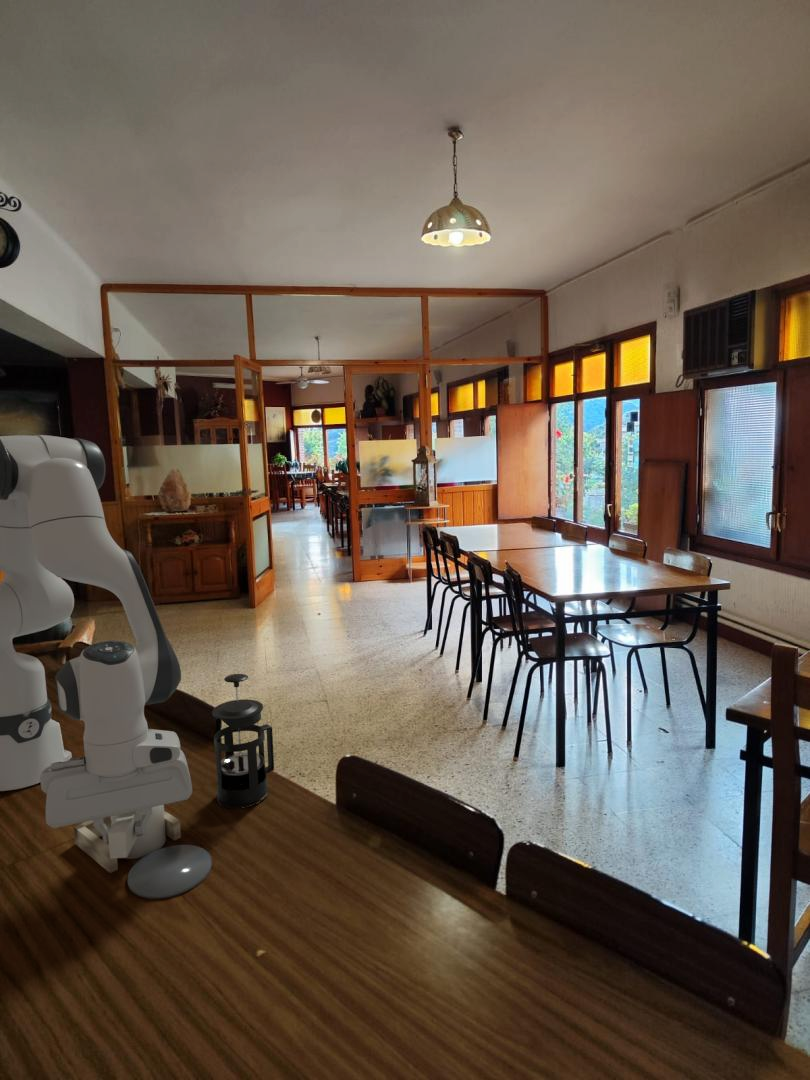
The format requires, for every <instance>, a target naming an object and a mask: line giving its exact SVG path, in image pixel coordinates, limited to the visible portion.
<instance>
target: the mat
mask: <svg viewBox="0 0 810 1080" xmlns="http://www.w3.org/2000/svg"><path fill="white" fill-rule="evenodd" d="M212 863H213V862H212V856H211V855H210V853H209V852H208V851H207V850H206V849H204V848H202V847H200V846H198V845H193V844H178V845H177V844H176V845H169V846H165V847H161V848H160V849H159V850H156V851H154V852H152V853H150V854H148V855H146V856H144V857H140V859H139V860H138V861H136V862H135V863H134V864H133V865H132V867H131V868H130V870H129V871H128V875H127V886H128V889H129V890H130V892H132V893H133V894H134V895H136V896H137V897H141V898H145V899H152V900H153V899H154V900H155V899H166V898H167V899H168V898H171V897H175V896H178V895H181V894H184V893H186V892H188V891H190V890H193V889H194V888H195V887H197V886H198V885H199V884H201V883H202V882H203V881H204V880H206V878H207V877H208V876H209V874H210V872H211V869H212V866H213V865H212Z"/></svg>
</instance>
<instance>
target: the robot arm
mask: <svg viewBox="0 0 810 1080" xmlns="http://www.w3.org/2000/svg"><path fill="white" fill-rule="evenodd" d="M106 466H107V465H106V461H105V457H104V453H103V452H102V450H101V449H100V447H99V446H98V445H97V444H96V443H94V441H93V442H92V441H91V440H86V439H83V438H78V437H73V438H67V437H61V436H57V435H56V436H54V435H46V434H34V435H31V434H30V435H27V434H26V435H24V434H22V435H21V434H20V435H17V434H16V435H15V434H14V435H0V571H1V572H4V573H3V575H4V576H3V579H2V581H0V792H5V791H14V790H19V789H24V788H27V787H31V786H35V785H38V784H39V783H40V789H41V790H42V792H44V793H45V794H46V799H45V824H46V825H48V826H49V827H50V828H52V829H58V828H62V827H68V826H70V825H76V824H77V825H78V824H82V823H84V822H86V821H91V820H93V826H94V827H95V828H96V829H97V830H98V831H99V832H100V833H101V834H103V836H102V840H103V844H108V845H109V840H108V832H109V831H110V829H111V827H107V826H106V825H105V824H104V817H109V816H114V815H118V814H123V813H128V812H132V811H137V810H141V809H142V817H141V819H140V820H139V821H135V833H136V837H138V836H142V835H146V827H145V825H146V824H147V822H148V820H149V818H150V816H151V814H152V807H155V806H160V805H164V806H165V805H168V804H172V803H177V802H182V801H183V802H184V801H187V800H188V799H189V798H190V797H191V796H192V794H193V784H192V779H191V774H190V770H189V765H188V761H187V759H186V758H187V757H186V755H185V753H184V752H183V750H182V749H181V742H180V739H179V736H178V734H177V733H176V732H175V731H171V730H162V729H153V728H149V727H148V722H147V719H146V717H145V706H146V705H152V704H158V703H159V704H160V703H165V702H166V701H168V700H169V699H170V697H172V696H173V694H174V693H175V692H176V690H177V688H178V687H179V685H180V683H181V680H182V671H181V665H180V663H179V660H178V657H177V655H176V653H175V651H174V648H173V647H172V644H171V643H170V640H169V638H168V637H167V634H166V632H165V630H164V626H163V624H162V622H161V619H160V617H159V613H158V612H157V609H156V606H155V603H154V600H153V598H152V596H151V593H150V591H149V587H148V585H147V583H146V580H145V578H144V575H143V573H142V570H141V568H140V566H139V564H138V562H137V561H136V559H135V557H134V556H133V554H132V552H130V551H128V550H126V549H123V548H121V547H120V545H118V544H117V542H116V541H115V540H114V538H112V536H111V533H110V532H109V529H108V527H107V522H106V518H105V514H104V509H103V504H102V501H101V497H100V494H99V489H100V488H101V487H102V486H103V484H104V482H105V478H106V472H107V471H106V469H107V468H106ZM64 579H65V580H68V581H71V582H77V583H81V584H85V585H87V584H88V585H92V586H96V587H98V588H103V589H105V590H107V591H109V592H111V593H113V594H114V595H115V596H116V597H117V598H118V599H119V601H120V603H121V604H122V606H123V609H124V612H125V615H126V618H127V620H128V622H129V625H130V628H131V631H132V634H133V635H134V639H135V643H136V644H134V645H133V644H132V643H129V642H126V641H123V640H104V641H103V640H102V641H100V642H95V643H92V644H90V645H89V646H86V647H85V648H84V649H83V650H82V651H81V653H80V655H79V656H77V657H75V658H71V659H70V660H67V661H65V663H64V664H63V665H62V666H61V667H60V669H59V670H58V671H57V673H56V675H55V676H54V681H55V688H56V689H55V690H56V698H57V708H58V711H59V712H60V713H62V714H64V715H65V716H67V717H69V718H72V719H73V720H75V721H78V722H80V721H83V722H84V731H83V736H82V737H83V738H82V740H83V748H84V756H82V757H76V758H73V755H72V752H71V751H70V750H66V749H65V748H64V747H65V746H64V742H63V736H62V730H61V725H60V723H59V722H57V721H56V720H54V719H52V716H53V715H52V704H51V700H50V699H49V698H48V693H47V683H46V672H45V667H44V665H43V663H42V662H41V661H40V660H39V659H38V658H37V657H35V656H33V655H30V654H27V653H22V652H16V649H15V648H14V644H13V639H14V638H18V637H21V636H25V635H30V634H35V633H38V632H41V631H45V630H48V629H51V628H53V627H54V626H57V625H59V624H61V623H63V622H65V621H67V620H68V619H69V618H70V617H71V616H72V612H73V611H74V607H75V598H74V597H75V596H74V593H73V590H72V588H71V586H70V585H69V584H68V583H67V582H66V581H65V580H64Z"/></svg>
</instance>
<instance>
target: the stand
mask: <svg viewBox="0 0 810 1080" xmlns="http://www.w3.org/2000/svg"><path fill="white" fill-rule="evenodd" d="M164 816H165V829H166V837H169V838H170V839H171V840H173V841H177V840H178V839H181V838H182V834H181V833H182V832H181V821H180V819H178V818H176V816H173V815H172V814H171V813H169V812H167V811H165V810H164ZM104 824H105V825H106V826H107V827H111V816H109V817H104ZM73 832H74V843H75V845H76V846H77V847H78V848H79V849H80V850H82V851H83V852H84V853H85V854H87V855H88V856H89V857H91V859H93V860H94V861H95V862H96V863H97V864H98V865H100V866H101V867H102V868H103V869H105V871H107V872H108V873H109V874H112V873H113V872H115V871H118V870H119V866H118V858H113V859H110V851H109V843H108V844H103V839H101V838H102V837H103V834H101V833H100V832H99V831H98V830H97V829H96V828H95V827H94V826H93V820H91V821H86V822H81V823H78V824H77V825H74V826H73Z"/></svg>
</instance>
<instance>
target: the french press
mask: <svg viewBox="0 0 810 1080" xmlns="http://www.w3.org/2000/svg"><path fill="white" fill-rule="evenodd" d="M248 678H249V676H248V675H247V674H245V673H234V674H232V673H231V674H229V675H227V676H226V677H224V678H223V681H224V682H226V683H233V687H234V688H235V696H236V697H235V698H236V699H235V700H229V701H225V702H222V703H219V704H217V705H216V706H215V707H214V708H213V709H212V716H213V717H214V718H215V719H216V720H221V721H222V722H224V724H225V725H226V726H227V727H224V728H221V729H219V730H218V731H216V733H215V734H214V736H213V743H214V749H215V762H216V763H215V765H216V791H217V792H216V793H217V794H216V799H217V800H216V802H217V801H218V802H219V804H221V805H222V806H224V807H223V808H225V807H228V808H227V809H229V808H242V807H247V806H250V805H253V804H256V803H257V802H259V801H261V800H262V799H264V798H265V797H266V795H267V794H268V795H269V793H268V791H269V787H268V777H267V776H268V775H267V774H268V773H271V772H273V771H274V770H275V761H274V760H275V758H274V757H275V756H274V754H275V753H274V738H273V737H274V736H273V734H274V733H273V726H271V725H269V724H262V725H258V723H259V722H260V721H261V719H262V711H263V709H264V705H263V703H262V702H261V701H258V700H255V699H249V698H247V699H246V698H244V699H239V687H240V682H244V681H246V680H248ZM265 731H266V732H265ZM236 732H238V735H237V736H238V743H237V744H236V743H235V744H234V734H233V733H236ZM241 732H255V733H257V738H256V739H253V740H252V741H248V742H244V743H242V742H241V741H242V740H241V739H242V738H241ZM265 733H266V735H265ZM222 737H223V740H224V742H220V741H218V740H219V739H220V738H222ZM265 737H266V748H267V751H266V752H267V766H266V761H265V760H266V759H265ZM257 747H258V752H257ZM245 751H246V752H245ZM222 752H224V755H225V756H224V758H222ZM240 784H249V785H248V786H249V788H246V789H239V790H231V789H233V788H235V786H236V787H238V786H237V785H240ZM240 786H241V785H240ZM232 787H233V788H232ZM230 788H231V789H230ZM228 789H229V790H228ZM269 792H270V791H269ZM266 798H267V797H266ZM264 800H265V799H264ZM218 802H217V803H218ZM219 804H218V805H219ZM221 805H220V806H221ZM222 806H221V807H222ZM242 809H243V808H242Z"/></svg>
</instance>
